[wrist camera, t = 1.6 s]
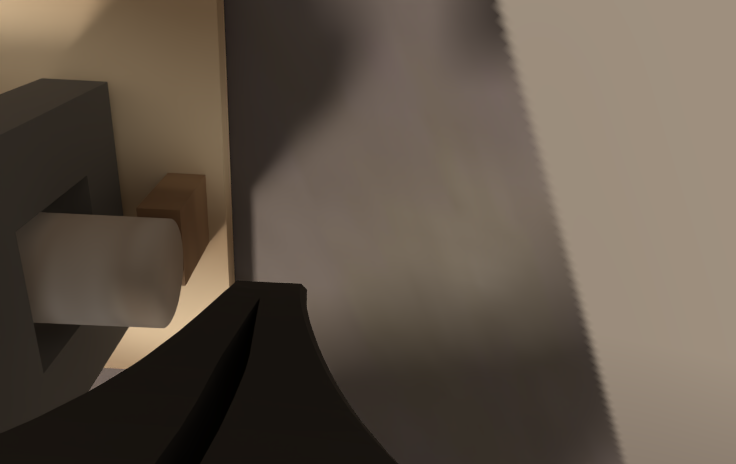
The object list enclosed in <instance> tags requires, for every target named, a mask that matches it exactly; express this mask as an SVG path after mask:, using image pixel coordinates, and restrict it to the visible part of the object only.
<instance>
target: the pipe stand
mask: <svg viewBox="0 0 736 464" xmlns="http://www.w3.org/2000/svg"><path fill="white" fill-rule="evenodd" d="M41 78H47V79H66V80H84V81H103V82H108V90H109V99H110V107H111V116H112V124H113V132H114V141H115V149H116V158H117V166H118V175H119V183H120V191H121V200H122V208H123V216H107V215H87V214H66V213H46V212H40V213H39V214H38V215H36V216H35V217H34V218H32V219H31V220H30V221H29V222H27V223H26V224H25V225H24V226H22V227H21V228H20V229H19V230H17V231H16V232H15V233H16V238H17V243H18V248H19V253H20V258H21V263H22V268H23V273H24V278H25V283H26V288H27V293H28V298H29V303H30V308H31V313H32V318H33V323H53V324H76V325H99V326H121V327H129V328H128V330H127V331H126V333H125V334H124V336H123V338H122V339H121V341H120V342H119V344H118V345H117V347H116V349H115V350H114V352H113V353H112V355H111V357H110V358H109V360H108V361H107V363H106V364H105V366H104V368H121V369H127V368H129V367H130V366H132V365H133V364H135V363H136V362H138V361H139V360H141V359H142V358H144V357H145V356H146V355H148V354H149V353H150V352H152V351H153V350H154V349H156V348H157V347H158V346H160V345H161V344H162V343H164V342H165V341H166V340H168V339H169V338H170V337H172V336H173V335H174V334H176V333H177V332H178V331H179V330H181V329H182V328H183V327H184V326H185V325H187V324H188V323H189V322H190V321H191V320H193V319H194V318H195V317H196V316H197V315H198V314H200V313H201V312H202V311H203V310H204V309H205V308H206V307H207V306H209V305H210V304H211V303H212V302H213V301H214V300H215V299H216V298H217V297H219V296H220V295H221V294H222V293H223V292H224V291H225V290H227V289H228V288H229V287H230V286H231V285H232V284H234V283H235V275H234V250H233V224H232V199H231V173H230V148H229V123H228V97H227V72H226V46H225V21H224V0H0V94H2V93H4V92H7V91H10V90H12V89H15V88H17V87H20V86H23V85H25V84H28V83H30V82H33V81H36V80H38V79H41Z"/></svg>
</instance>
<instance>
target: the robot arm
mask: <svg viewBox="0 0 736 464" xmlns="http://www.w3.org/2000/svg"><path fill="white" fill-rule="evenodd" d="M0 464H398V463H397V462H396V461H395V460H394V459H393V458H392V457H391V456H390V455H389V454H388V453H387V452H386V450H385V449H384V448H383V447H382V446H381V444H380V443H379V442H378V441H377V440H376V438H375V437H374V436H373V435H372V434H371V433H370V431H369V430H368V429H367V428H366V427H365V425H364V424H363V423H362V422H361V420H360V419H359V418H358V416H357V415H356V413H355V412H354V410H353V409H352V408H351V406H350V405H349V403H348V402H347V400H346V399H345V397H344V395H343V394H342V392H341V391H340V389H339V387H338V386H337V384H336V382H335V380H334V378H333V376H332V375H331V373H330V371H329V369H328V367H327V364H326V362H325V360H324V358H323V356H322V354H321V351H320V349H319V347H318V344H317V341H316V338H315V336H314V333H313V330H312V327H311V324H310V320H309V316H308V312H307V289H306V288H305V287H304V286H303V285H302V284H293V283H272V282H250V281H236V282H235V283H234V284H232V285H231V286H230V287H229V288H228V289H227V290H225V291H224V292H223V293H222V294H221V295H220V296H219V297H217V298H216V299H215V300H214V301H213V302H212V303H211V304H210V305H209V306H207V307H206V308H205V309H204V310H203V311H202V312H201V313H200V314H198V315H197V316H196V317H195V318H194V319H193V320H191V321H190V322H189V323H188V324H187V325H185V326H184V327H183V328H182V329H181V330H179V331H178V332H177V333H176V334H174V335H173V336H172V337H170V338H169V339H168V340H166V341H165V342H164V343H162V344H161V345H160V346H158V347H157V348H156V349H154V350H153V351H152V352H150V353H149V354H148V355H146V356H145V357H144V358H142V359H141V360H139V361H138V362H136V363H135V364H133V365H132V366H130V367H129V368H127V369H126V370H124V371H123V372H121V373H119V374H118V375H116V376H114V377H113V378H111V379H109V380H108V381H106V382H104V383H103V384H101V385H99V386H98V387H96V388H94V389H92V390H90V391H89V392H87V393H85V394H83V395H81V396H79V397H77V398H75V399H73V400H71V401H69V402H67V403H65V404H63V405H61V406H59V407H57V408H55V409H53V410H51V411H49V412H47V413H45V414H43V415H41V416H39V417H37V418H35V419H32V420H30V421H28V422H26V423H23V424H21V425H19V426H16V427H14V428H12V429H10V430H7V431H5V432H2V433H0Z"/></svg>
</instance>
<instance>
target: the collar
mask: <svg viewBox="0 0 736 464" xmlns="http://www.w3.org/2000/svg"><path fill="white" fill-rule="evenodd" d="M40 212H46V213H66V214H87V215H107V216H123V208H122V200H121V191H120V183H119V175H118V166H117V158H116V149H115V141H114V132H113V124H112V116H111V107H110V99H109V90H108V82H103V81H84V80H66V79H47V78H41V79H38V80H36V81H33V82H30V83H28V84H25V85H23V86H20V87H17V88H15V89H12V90H10V91H7V92H4V93H2V94H0V433H2V432H5V431H7V430H10V429H12V428H14V427H16V426H19V425H21V424H23V423H26V422H28V421H30V420H32V419H35V418H37V417H39V416H41V415H43V414H45V413H47V412H49V411H51V410H53V409H55V408H57V407H59V406H61V405H63V404H65V403H67V402H69V401H71V400H73V399H75V398H77V397H79V396H81V395H83V394H85V393H87V392H88V391H89V390H90V388H91V387H92V385H93V383H94V382H95V380H96V379H97V377H98V376H99V374H100V372H101V371H102V369H103V368H104V366H105V364H106V363H107V361H108V360H109V358H110V357H111V355H112V353H113V352H114V350H115V349H116V347H117V345H118V344H119V342H120V341H121V339H122V338H123V336H124V334H125V333H126V331H127V330H128V328H129V327H121V326H99V325H76V324H53V323H33V318H32V313H31V308H30V303H29V298H28V293H27V288H26V283H25V278H24V273H23V268H22V263H21V258H20V253H19V248H18V243H17V238H16V233H15V232H16V231H17V230H19V229H20V228H21V227H22V226H24V225H25V224H26V223H27V222H29V221H30V220H31V219H32V218H34V217H35V216H36V215H38V214H39V213H40Z"/></svg>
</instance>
